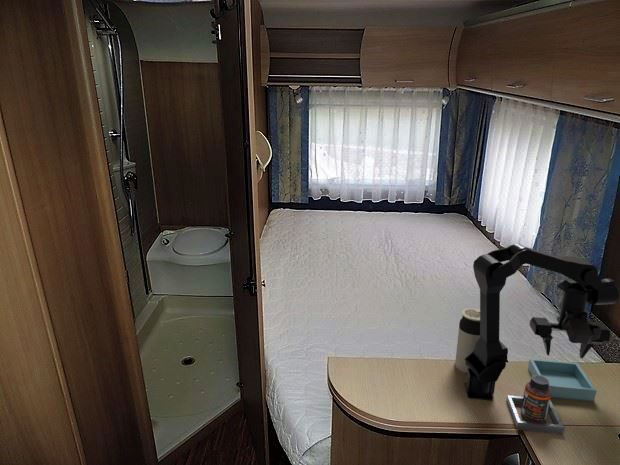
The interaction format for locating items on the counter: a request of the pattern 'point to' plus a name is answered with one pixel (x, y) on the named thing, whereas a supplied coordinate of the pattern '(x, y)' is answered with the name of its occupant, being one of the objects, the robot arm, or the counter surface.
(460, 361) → the travel mug
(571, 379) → the bin
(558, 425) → the collar
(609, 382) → the counter surface
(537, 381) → the supplement bottle
